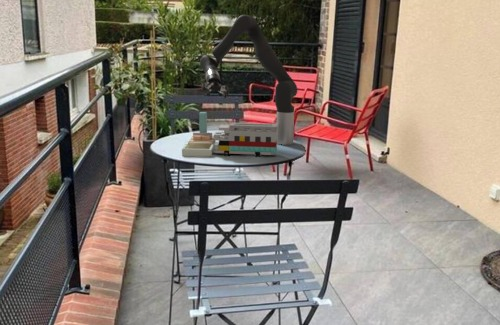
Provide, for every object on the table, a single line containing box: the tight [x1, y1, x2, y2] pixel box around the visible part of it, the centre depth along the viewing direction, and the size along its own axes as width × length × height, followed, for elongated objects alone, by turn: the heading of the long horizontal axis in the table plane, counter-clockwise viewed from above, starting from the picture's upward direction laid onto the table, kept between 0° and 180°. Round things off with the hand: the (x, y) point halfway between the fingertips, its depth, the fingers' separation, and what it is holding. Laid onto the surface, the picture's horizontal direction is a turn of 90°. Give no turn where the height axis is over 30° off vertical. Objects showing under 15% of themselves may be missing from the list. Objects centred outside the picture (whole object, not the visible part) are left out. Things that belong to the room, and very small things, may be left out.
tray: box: [181, 143, 214, 158], centre depth 241 cm, size 11×14×3 cm
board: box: [187, 135, 217, 149], centre depth 256 cm, size 18×12×4 cm, turn 178°
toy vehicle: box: [213, 122, 278, 158], centre depth 239 cm, size 8×30×15 cm, turn 84°
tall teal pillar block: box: [192, 111, 213, 138], centre depth 258 cm, size 5×10×13 cm, turn 88°
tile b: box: [192, 135, 202, 141], centre depth 253 cm, size 4×4×2 cm
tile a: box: [202, 135, 210, 141], centre depth 253 cm, size 4×4×2 cm
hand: (217, 95), depth 256 cm, fingers open, 8 cm apart
